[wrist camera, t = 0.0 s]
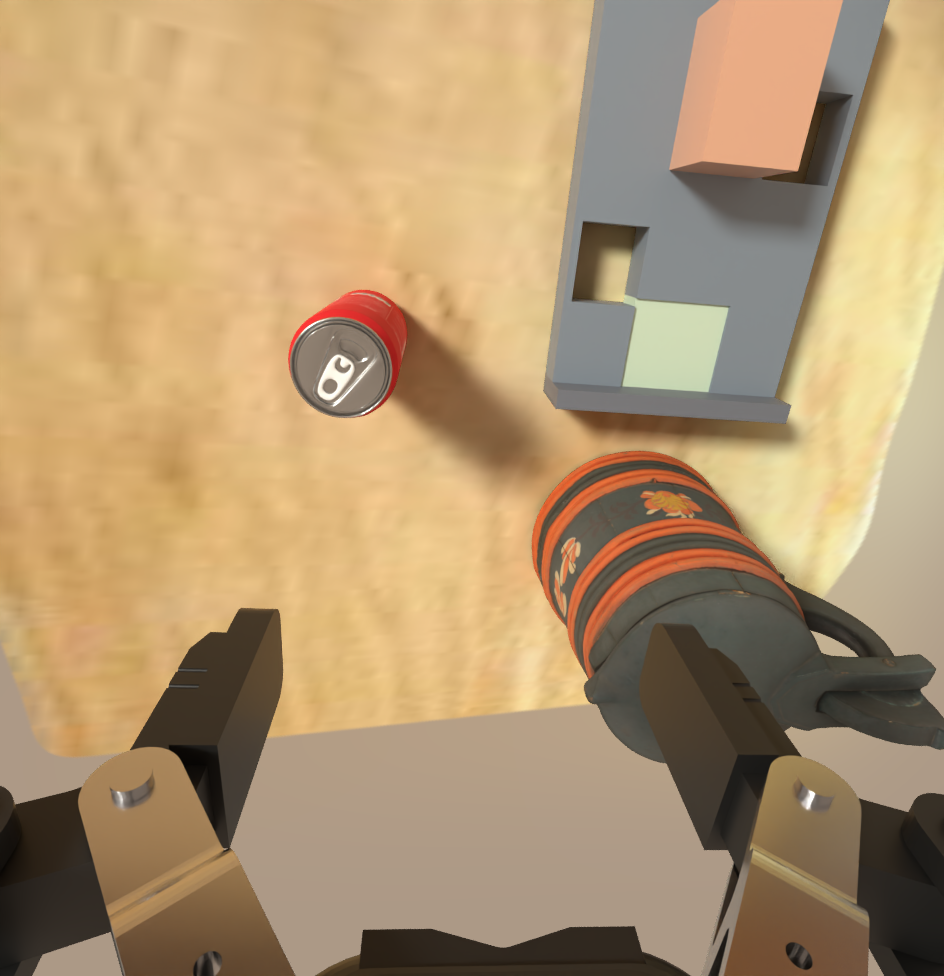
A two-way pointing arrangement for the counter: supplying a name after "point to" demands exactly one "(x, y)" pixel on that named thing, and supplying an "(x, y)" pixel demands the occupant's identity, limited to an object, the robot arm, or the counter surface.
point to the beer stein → (707, 606)
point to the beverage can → (349, 354)
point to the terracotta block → (753, 86)
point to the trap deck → (689, 229)
